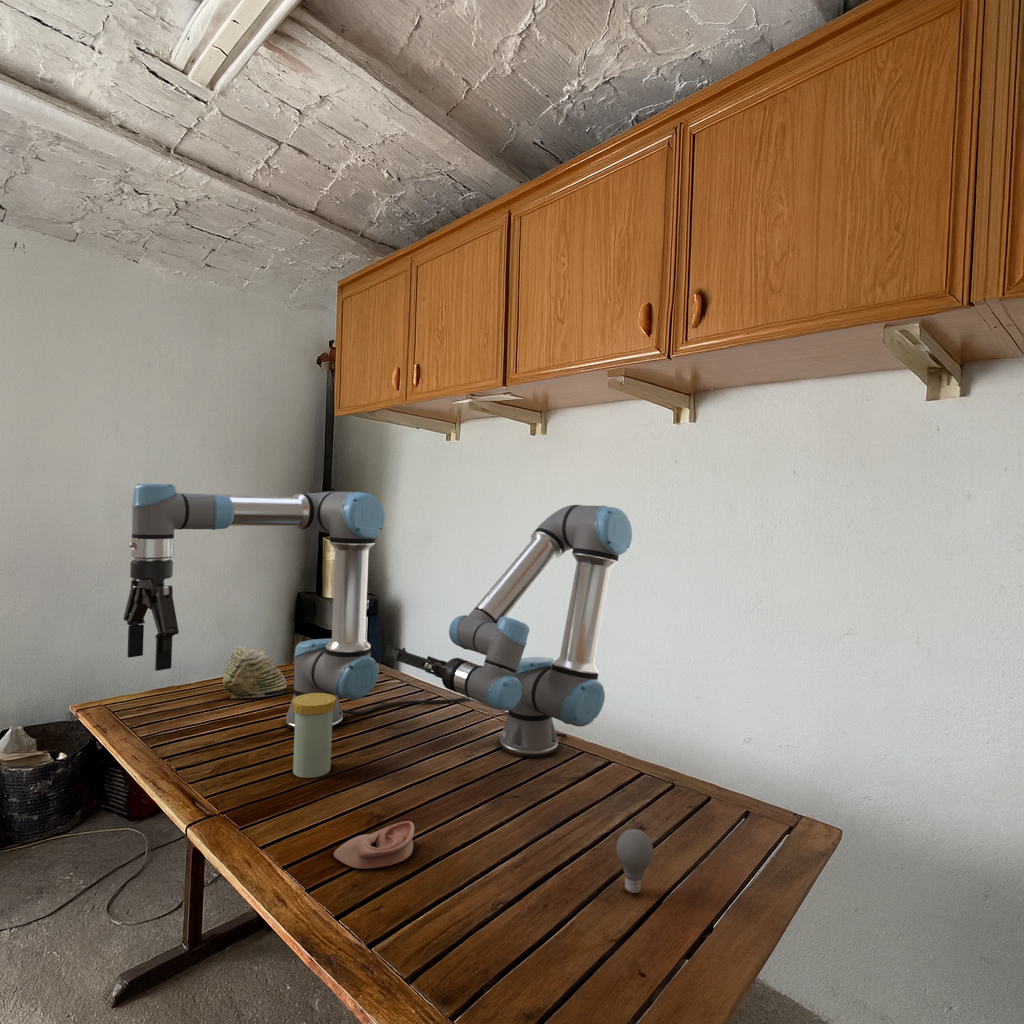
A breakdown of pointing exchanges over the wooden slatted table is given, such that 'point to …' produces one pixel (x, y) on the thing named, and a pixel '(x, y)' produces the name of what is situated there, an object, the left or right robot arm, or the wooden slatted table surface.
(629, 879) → the light bulb
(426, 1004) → the wooden slatted table surface
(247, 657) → the fossil
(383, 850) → the anatomical model
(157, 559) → the left robot arm
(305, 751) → the jar
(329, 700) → the lid
